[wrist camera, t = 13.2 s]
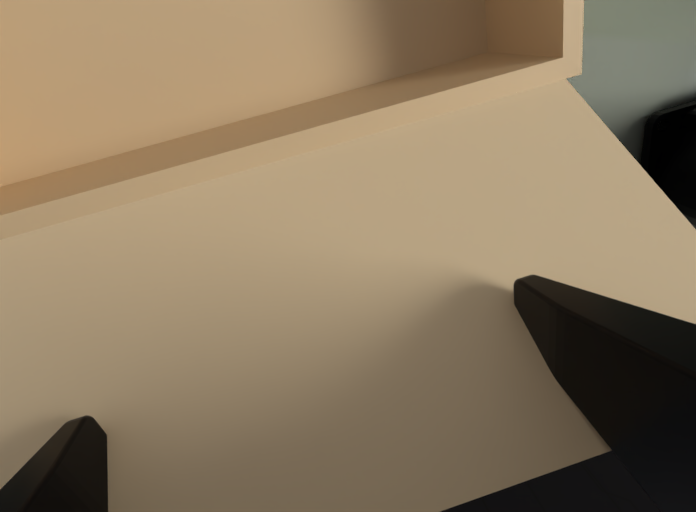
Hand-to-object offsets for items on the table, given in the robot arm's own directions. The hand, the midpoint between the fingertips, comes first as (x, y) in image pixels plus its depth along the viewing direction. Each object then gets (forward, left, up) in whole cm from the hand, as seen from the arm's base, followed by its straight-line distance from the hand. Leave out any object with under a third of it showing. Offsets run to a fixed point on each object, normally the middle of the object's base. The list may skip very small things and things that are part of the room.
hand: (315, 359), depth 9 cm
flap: (0, 0, -1) cm, 1 cm away
